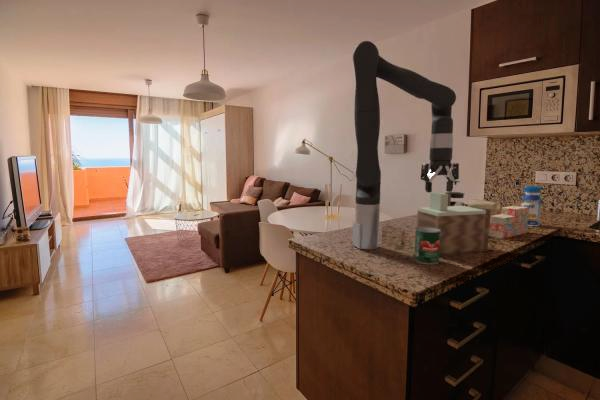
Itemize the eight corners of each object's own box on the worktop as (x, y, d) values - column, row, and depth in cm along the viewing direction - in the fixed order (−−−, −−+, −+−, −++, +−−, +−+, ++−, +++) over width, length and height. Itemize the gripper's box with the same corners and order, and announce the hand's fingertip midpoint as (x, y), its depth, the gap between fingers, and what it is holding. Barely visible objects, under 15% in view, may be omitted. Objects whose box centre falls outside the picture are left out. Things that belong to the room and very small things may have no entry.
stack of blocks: (503, 239, 139) (505, 211, 138) (488, 236, 145) (490, 209, 143) (527, 233, 151) (529, 206, 149) (512, 230, 156) (514, 205, 154)
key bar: (493, 209, 118) (493, 203, 118) (468, 205, 130) (469, 199, 130) (499, 209, 119) (500, 203, 119) (474, 204, 131) (475, 199, 130)
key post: (478, 251, 122) (481, 209, 120) (463, 245, 129) (465, 206, 127) (487, 250, 123) (490, 209, 121) (471, 244, 130) (474, 206, 128)
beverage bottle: (543, 226, 164) (547, 186, 162) (530, 227, 162) (534, 187, 160) (528, 223, 172) (531, 185, 170) (515, 223, 170) (518, 185, 168)
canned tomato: (425, 256, 116) (426, 225, 114) (444, 262, 109) (446, 230, 107) (408, 259, 112) (410, 227, 111) (427, 265, 105) (429, 232, 104)
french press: (437, 225, 167) (440, 180, 164) (447, 223, 173) (450, 179, 170) (460, 229, 158) (463, 182, 155) (470, 226, 164) (473, 181, 160)
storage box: (435, 256, 115) (438, 216, 113) (415, 247, 126) (417, 210, 124) (482, 252, 120) (485, 213, 118) (459, 244, 131) (461, 208, 129)
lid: (437, 220, 113) (439, 195, 112) (417, 214, 125) (418, 192, 123) (485, 217, 118) (487, 193, 117) (461, 212, 129) (463, 190, 128)
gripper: (430, 146, 111) (428, 193, 113) (465, 146, 115) (463, 192, 117) (417, 147, 118) (415, 191, 121) (450, 147, 122) (448, 190, 124)
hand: (439, 191), depth 119 cm, fingers open, 8 cm apart
